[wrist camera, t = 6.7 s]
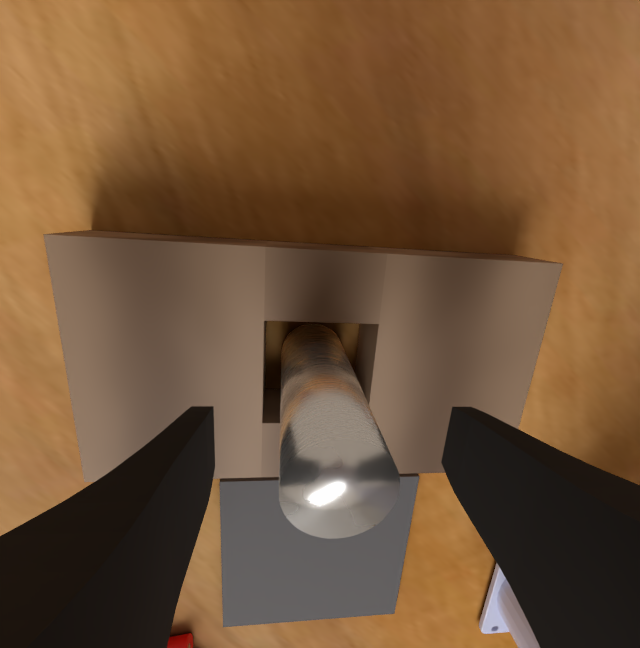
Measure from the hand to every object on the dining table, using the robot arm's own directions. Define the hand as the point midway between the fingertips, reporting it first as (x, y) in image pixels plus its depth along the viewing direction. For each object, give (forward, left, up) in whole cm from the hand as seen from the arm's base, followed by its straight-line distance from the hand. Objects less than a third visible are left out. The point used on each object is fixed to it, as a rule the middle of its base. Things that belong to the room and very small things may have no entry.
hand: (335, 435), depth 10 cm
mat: (-1, +13, -7) cm, 15 cm away
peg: (0, 0, -7) cm, 7 cm away
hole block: (0, 0, -7) cm, 7 cm away
